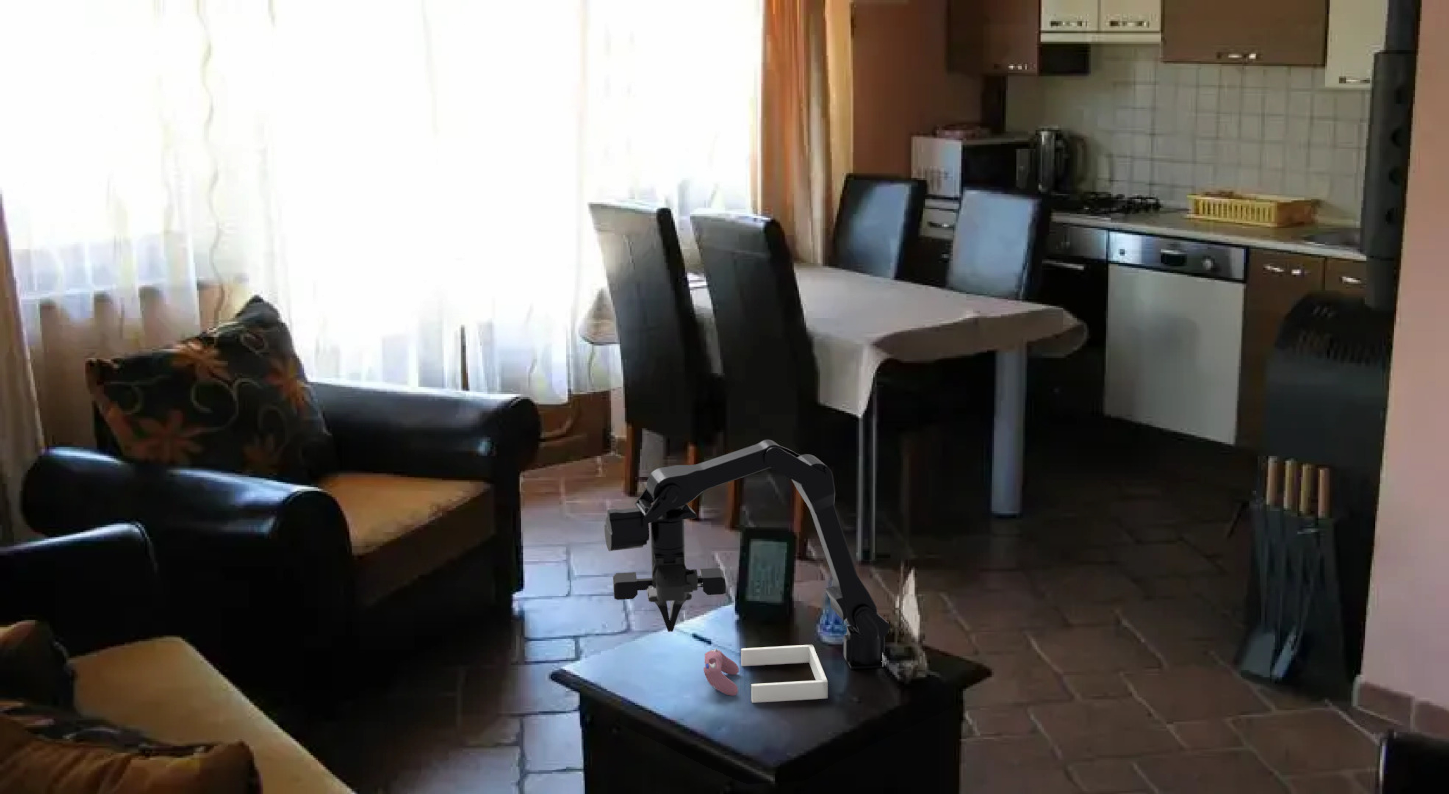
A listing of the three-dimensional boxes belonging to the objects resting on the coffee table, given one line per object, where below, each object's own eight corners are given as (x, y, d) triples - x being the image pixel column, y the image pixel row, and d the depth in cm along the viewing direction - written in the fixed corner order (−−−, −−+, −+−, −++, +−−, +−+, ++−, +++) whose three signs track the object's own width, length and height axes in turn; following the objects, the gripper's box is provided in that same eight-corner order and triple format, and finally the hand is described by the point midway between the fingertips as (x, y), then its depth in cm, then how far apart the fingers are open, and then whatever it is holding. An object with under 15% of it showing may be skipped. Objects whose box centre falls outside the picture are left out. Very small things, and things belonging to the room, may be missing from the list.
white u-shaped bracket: (812, 660, 267) (812, 644, 267) (827, 698, 252) (827, 681, 252) (741, 664, 266) (741, 648, 265) (752, 702, 251) (751, 686, 250)
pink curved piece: (717, 681, 263) (699, 648, 262) (741, 670, 263) (722, 636, 261) (716, 706, 254) (697, 671, 252) (740, 694, 253) (721, 660, 252)
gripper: (613, 563, 242) (616, 653, 246) (728, 557, 244) (730, 647, 248) (611, 540, 253) (614, 627, 257) (721, 535, 255) (723, 621, 259)
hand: (670, 631), depth 255 cm, fingers closed
